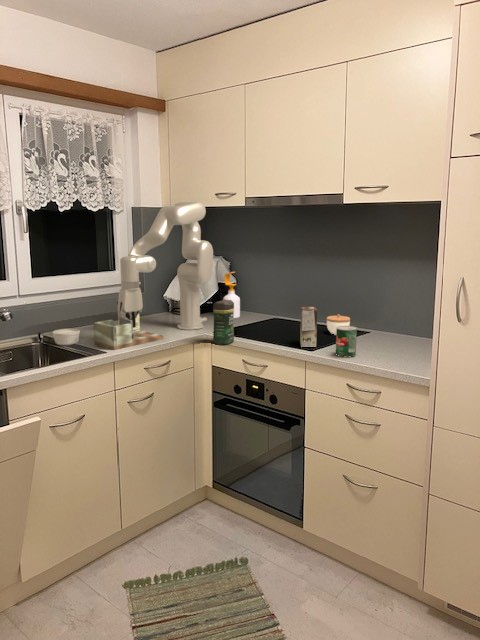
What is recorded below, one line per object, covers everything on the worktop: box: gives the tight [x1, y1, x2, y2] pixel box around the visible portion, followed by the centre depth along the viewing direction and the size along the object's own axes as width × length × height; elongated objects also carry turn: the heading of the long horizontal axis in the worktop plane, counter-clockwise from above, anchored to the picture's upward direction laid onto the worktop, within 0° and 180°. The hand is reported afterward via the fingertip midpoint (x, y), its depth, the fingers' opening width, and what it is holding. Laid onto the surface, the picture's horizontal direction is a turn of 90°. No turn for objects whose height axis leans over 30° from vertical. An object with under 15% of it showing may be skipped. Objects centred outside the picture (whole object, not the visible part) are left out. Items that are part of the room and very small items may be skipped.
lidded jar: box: [326, 313, 351, 336], centre depth 247 cm, size 11×11×9 cm
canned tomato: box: [335, 325, 358, 357], centre depth 210 cm, size 8×8×11 cm
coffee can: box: [116, 301, 141, 333], centre depth 255 cm, size 10×10×14 cm
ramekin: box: [52, 328, 81, 346], centre depth 231 cm, size 11×11×5 cm
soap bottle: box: [222, 271, 241, 319], centre depth 286 cm, size 9×9×25 cm
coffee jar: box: [212, 299, 235, 345], centre depth 230 cm, size 10×8×19 cm
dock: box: [93, 319, 164, 351], centre depth 232 cm, size 26×14×10 cm, turn 138°
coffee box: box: [299, 305, 318, 348], centre depth 225 cm, size 9×6×16 cm
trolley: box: [119, 318, 134, 339], centre depth 228 cm, size 10×10×8 cm
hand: (131, 327), depth 233 cm, fingers closed
